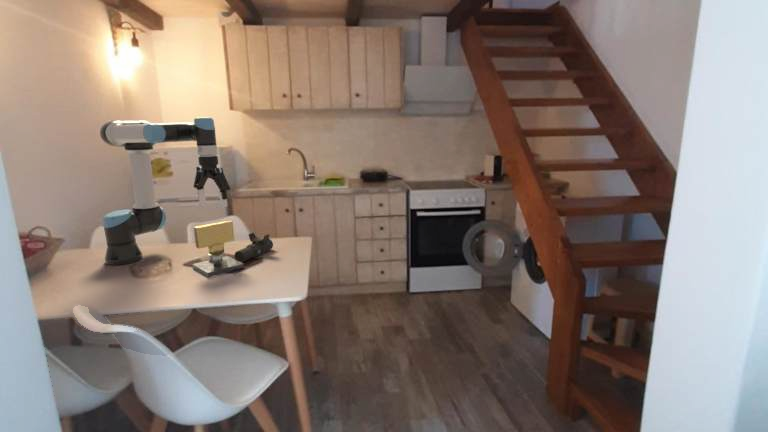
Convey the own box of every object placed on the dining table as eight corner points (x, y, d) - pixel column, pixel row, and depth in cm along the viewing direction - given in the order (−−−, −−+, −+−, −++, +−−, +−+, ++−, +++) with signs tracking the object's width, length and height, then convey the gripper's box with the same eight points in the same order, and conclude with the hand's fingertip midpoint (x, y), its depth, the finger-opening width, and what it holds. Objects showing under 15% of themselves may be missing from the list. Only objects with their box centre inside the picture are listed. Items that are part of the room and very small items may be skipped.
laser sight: (231, 261, 195) (229, 241, 192) (262, 248, 215) (260, 229, 213) (248, 264, 191) (246, 243, 189) (277, 250, 211) (276, 231, 209)
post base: (193, 268, 186) (191, 253, 184) (227, 259, 197) (226, 245, 195) (208, 277, 175) (206, 261, 173) (243, 267, 186) (242, 252, 184)
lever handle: (195, 255, 181) (192, 226, 178) (230, 247, 192) (227, 219, 189) (201, 258, 177) (198, 228, 174) (237, 249, 188) (234, 221, 185)
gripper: (181, 155, 176) (187, 204, 181) (220, 157, 164) (226, 209, 169) (196, 154, 183) (202, 201, 187) (235, 155, 170) (240, 206, 175)
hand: (213, 205), depth 178 cm, fingers open, 13 cm apart
